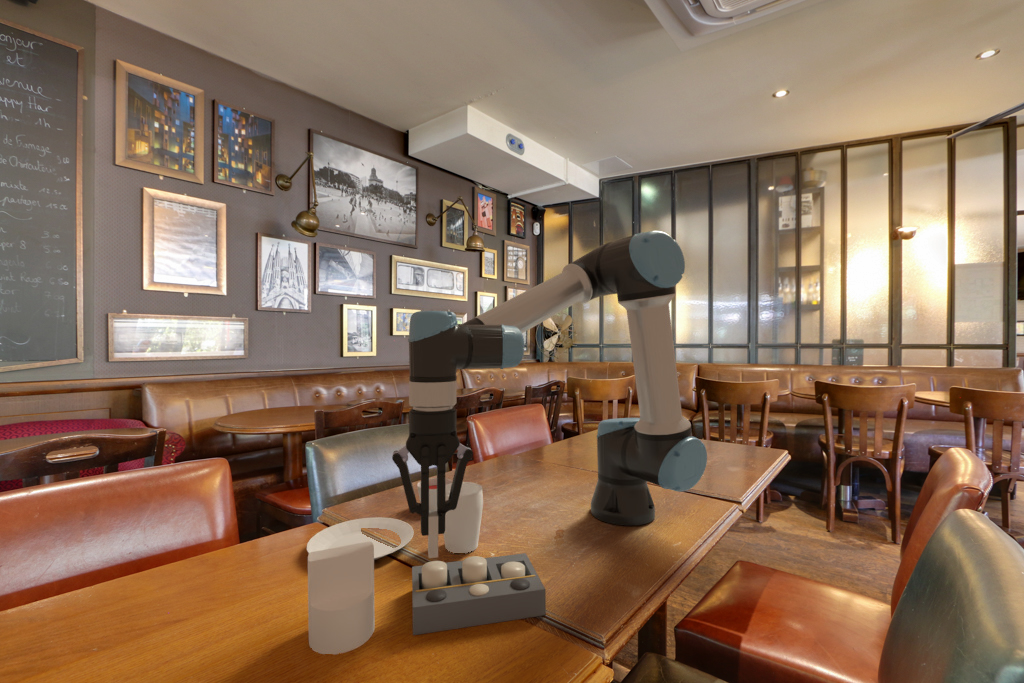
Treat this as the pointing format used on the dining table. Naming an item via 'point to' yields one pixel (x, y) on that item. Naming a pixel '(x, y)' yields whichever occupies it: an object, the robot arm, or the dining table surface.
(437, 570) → the button
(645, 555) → the dining table surface
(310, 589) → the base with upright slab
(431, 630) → the board
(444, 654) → the dining table surface
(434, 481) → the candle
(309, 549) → the plate
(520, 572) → the button
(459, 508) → the cup
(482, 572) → the button
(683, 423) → the robot arm
